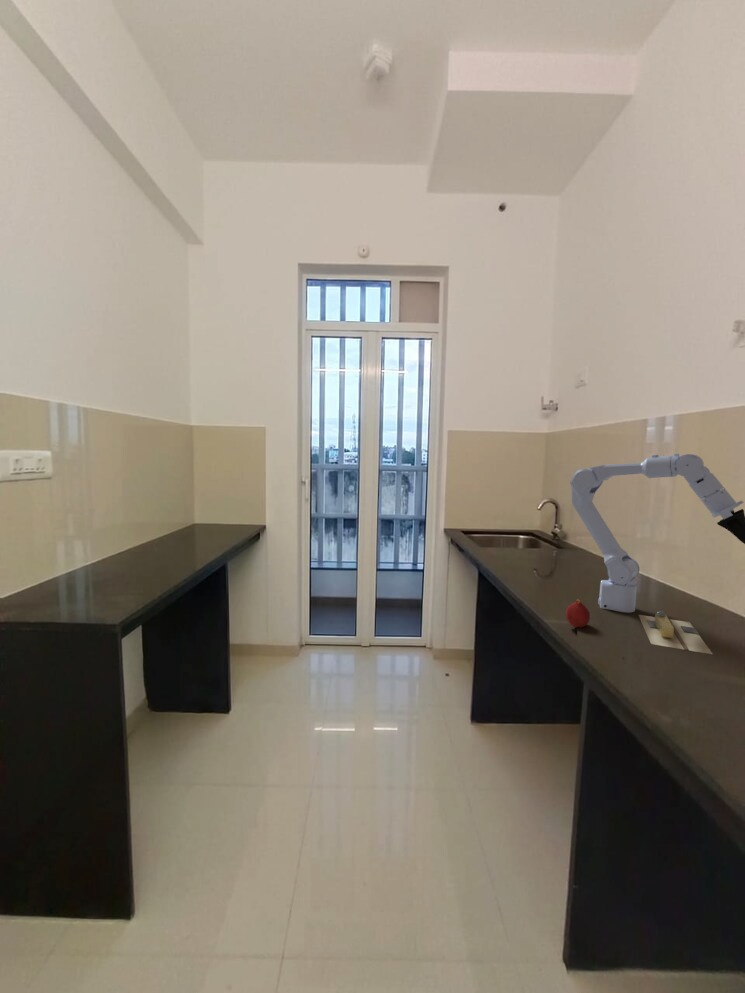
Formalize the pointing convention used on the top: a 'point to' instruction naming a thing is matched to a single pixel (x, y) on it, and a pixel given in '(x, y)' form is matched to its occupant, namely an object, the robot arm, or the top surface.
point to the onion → (577, 614)
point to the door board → (675, 635)
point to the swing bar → (663, 624)
